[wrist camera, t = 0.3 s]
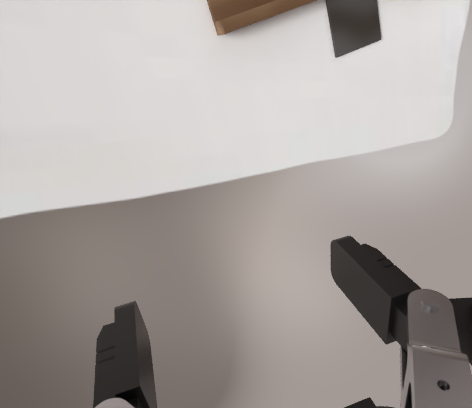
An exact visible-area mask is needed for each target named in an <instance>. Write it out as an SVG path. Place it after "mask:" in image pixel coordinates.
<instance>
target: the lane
mask: <svg viewBox="0 0 472 408" xmlns="http://www.w3.org/2000/svg"><path fill="white" fill-rule="evenodd" d="M313 1H316V0H207V2H208V5H209V9H210V12H211V15H212V18H213V22H214V25H215V28H216V31H217V35H221V34H226V33H228V32H231V31H234V30H236V29H239V28H242V27H245V26H247V25H250V24H253V23H256V22H258V21H261V20H264V19H267V18H269V17H272V16H275V15H278V14H280V13H283V12H286V11H288V10H291V9H294V8H297V7H299V6H302V5H305V4H308V3H310V2H313ZM326 5H327V11H328V17H329V23H330V28H331V34H332V40H333V46H334V52H335V57H339V56H341V55H344V54H346V53H349V52H351V51H354V50H356V49H359V48H361V47H364V46H366V45H369V44H371V43H374V42H376V41H379V40H381V34H380V25H379V16H378V7H377V0H326Z"/></svg>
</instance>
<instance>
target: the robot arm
mask: <svg viewBox="0 0 472 408" xmlns="http://www.w3.org/2000/svg"><path fill="white" fill-rule="evenodd" d="M331 273H332V276H333V279H334V281H335V282H336V284H337V285H338V287H339V288H340V289H341V290H342V291H343V293H344V294H345V295H346V296H347V297H348V299H349V300H350V301H351V302H352V303H353V305H354V306H355V307H356V308H357V310H358V311H359V312H360V313H361V314H362V316H363V317H364V318H365V319H366V321H367V322H368V323H369V324H370V326H371V327H372V328H373V329H374V330H375V332H376V333H377V334H378V335H379V337H380V338H381V339H382V340H383V341H384V343H385V344H389V343H391V342H394V341H397V342H398V343H399V344H400V345H401V348H400V371H401V372H400V374H401V403H400V408H472V375H471V370H470V365H469V363H470V364H471V365H472V298H456V299H448V298H447V297H446V296H444V295H443V294H441V293H439V292H437V291H434V290H429V289H421V288H420V287H419V286H418V285H417V284H416V283H414V282H413V281H412V280H411V279H410V278H409V277H408V276H407V275H406V274H404V273H403V272H402V271H401V270H400V269H399V268H398V267H397V266H394V264H393V263H392V262H391V261H390V260H389V259H387V258H386V257H385V256H384V255H383V254H382V253H381V252H380V251H379V250H378V249H376V248H373V247H371V246H369V245H367V244H362V245H360V244H359V243H358V242H357V241H356V240H355V239H354V238H353V237H351V236H346V237H343V238H339V239H336V240H333V241H332V242H331ZM96 352H97V354H96V366H95V386H94V404H93V408H157V402H156V392H155V383H154V374H153V364H152V356H151V346H150V340H149V336H148V332H147V329H146V326H145V323H144V321H143V319H142V316H141V313H140V310H139V308H138V305H137V303H136V301H134V302H130V303H127V304H124V305H121V306H117V307H115V322H114V323H111V324H108V325H105V326H103V328H102V330H101V332H100V334H99V336H98V338H97V348H96ZM345 408H393V407H384V406H382V407H381V406H377V407H376V406H375V404H374V403H373V401H372V400H371V398H367V399H364V400H362V401H359V402H357V403H355V404H352V405H350V406H347V407H345Z"/></svg>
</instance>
